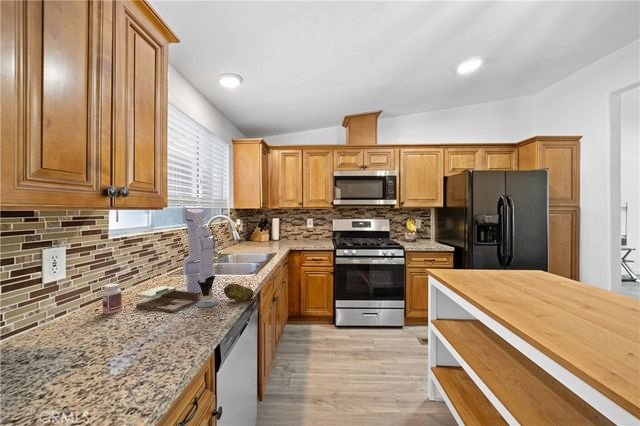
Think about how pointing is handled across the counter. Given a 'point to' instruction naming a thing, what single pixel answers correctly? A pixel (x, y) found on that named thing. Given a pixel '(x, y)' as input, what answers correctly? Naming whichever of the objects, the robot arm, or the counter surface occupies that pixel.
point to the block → (207, 296)
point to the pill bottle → (112, 299)
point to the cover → (156, 292)
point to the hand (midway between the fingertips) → (207, 294)
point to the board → (170, 301)
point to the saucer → (206, 303)
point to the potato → (238, 292)
